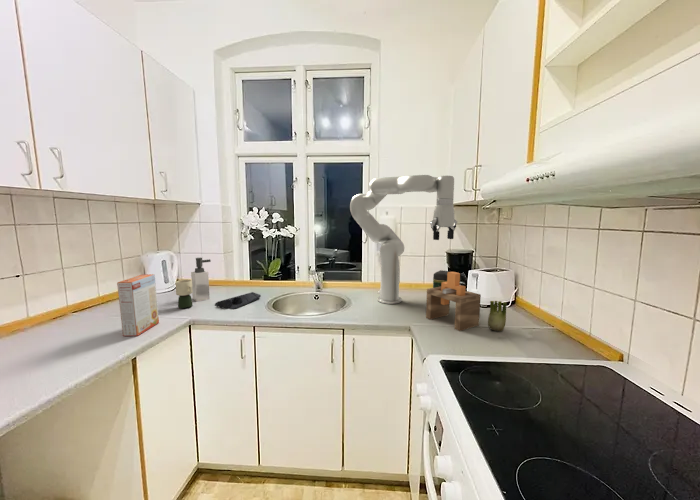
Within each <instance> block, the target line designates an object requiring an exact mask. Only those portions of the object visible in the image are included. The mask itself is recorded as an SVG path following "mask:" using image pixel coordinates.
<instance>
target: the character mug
mask: <svg viewBox="0 0 700 500" xmlns="http://www.w3.org/2000/svg"><path fill="white" fill-rule="evenodd" d="M174 284H175V294H176V296H178V300H177V301H178V302H177V307H178V308H179V309H183V308H184V309H185V308H187V309H188V308H190V307H193V298H192V295H191V294H192V292H193V290H192V279H180V280H176V281H175V282H174Z"/></svg>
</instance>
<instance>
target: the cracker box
mask: <svg viewBox="0 0 700 500" xmlns="http://www.w3.org/2000/svg"><path fill="white" fill-rule="evenodd" d="M116 285H117V286H116V287H117V294H118V295H117V296H118V302H119V303H118V304H119V311H120V312H119V313H120V319H121V320H120V321H121V329H122V337H138V336H140V335H142V334H143V333H145V332H147V331H148V330H149V329H151V328H153V327H155V326H156V325H159V324H160V318H159V317H160V316H159V309H158V297H157V286H156V276H155V274H153V273H152V274H146V273H145V274H144V273H143V274H139V275H137V276H133V277H130V278H127V279H123V280H121V281H118V282H117V283H116ZM141 333H142V334H141Z"/></svg>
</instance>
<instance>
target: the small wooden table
mask: <svg viewBox="0 0 700 500" xmlns="http://www.w3.org/2000/svg"><path fill="white" fill-rule="evenodd" d="M456 291H457V290H455V289H451V288H447V289H443V291H441V287H435V288H433V287H431V288H427V289H426V303H425V304H426V308H425V310H426V311H425V318H426V319H428V320H433V319H438V318H441V317H445V316H446V317H447V316H449V315H450V308H449V306H450V305H451V302H454V303H455V309H454V310H455V311H454V313H455V314H454V330H456V331H459V332H461V331H465V330H469V329H471V328H474V327H478V326H480V316H481V315H480V311H481V294H480V293H476V292H472V291H468V290H465V296H458V295H456ZM441 298H443V299H447V300H449V304H447V305H442V304H441Z"/></svg>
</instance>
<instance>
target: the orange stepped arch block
mask: <svg viewBox="0 0 700 500" xmlns="http://www.w3.org/2000/svg"><path fill="white" fill-rule="evenodd" d="M460 281H461V273H459V272H456V271H448V273H447V282H442V283H441V291H443V289H447V288H451V289H455V290H457V291H456V295H458V296H465V291H466V289H467V288H466V285H462V284H461V282H460ZM441 304H442V305H447V304H449V300H447V299H443V298H441Z"/></svg>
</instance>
